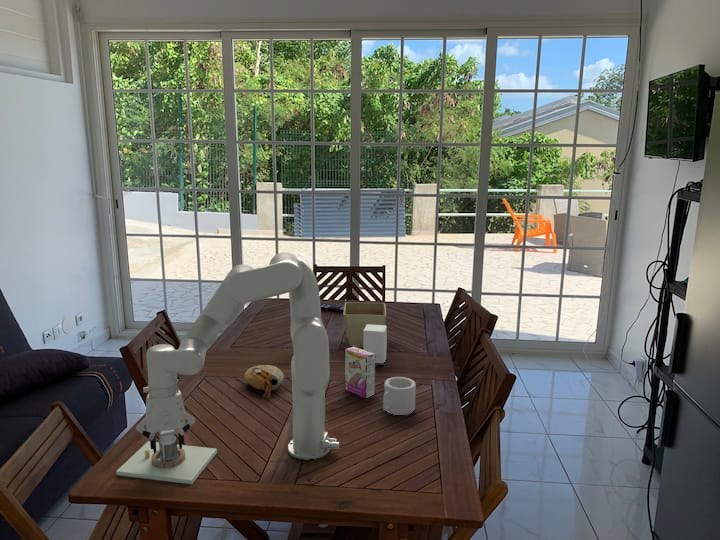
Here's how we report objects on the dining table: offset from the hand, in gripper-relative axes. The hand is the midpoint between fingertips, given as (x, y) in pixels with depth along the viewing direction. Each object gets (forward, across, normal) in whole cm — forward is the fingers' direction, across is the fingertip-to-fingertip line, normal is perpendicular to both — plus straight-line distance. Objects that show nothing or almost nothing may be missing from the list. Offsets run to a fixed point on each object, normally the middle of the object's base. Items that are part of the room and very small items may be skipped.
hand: (167, 448), depth 155 cm
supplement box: (+5, +84, +53) cm, 99 cm away
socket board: (+5, 0, 0) cm, 5 cm away
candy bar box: (+5, +67, +26) cm, 72 cm away
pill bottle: (+4, 0, 0) cm, 4 cm away
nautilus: (+5, +34, +40) cm, 53 cm away
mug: (+5, +74, +9) cm, 75 cm away
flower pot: (+5, +87, +75) cm, 116 cm away
